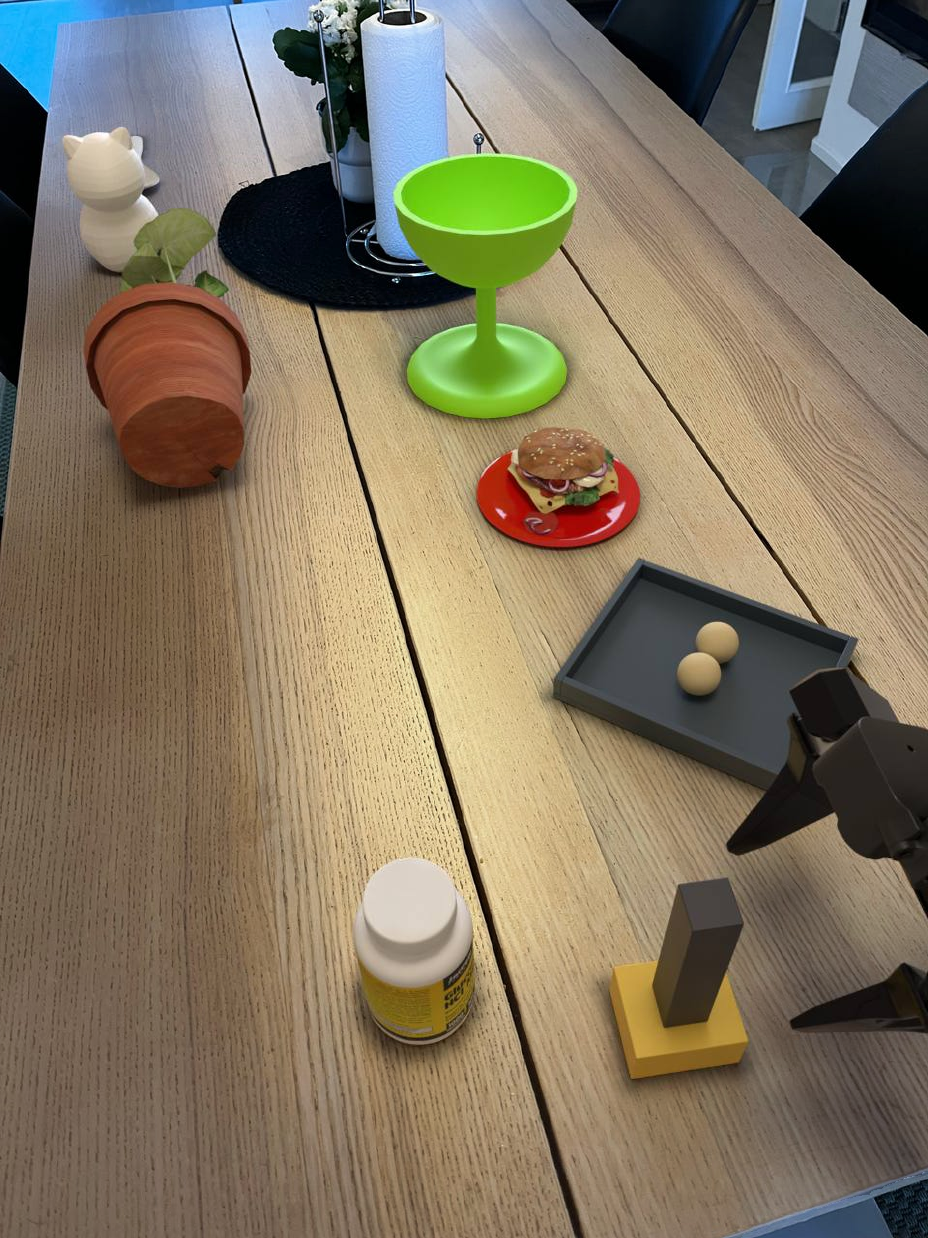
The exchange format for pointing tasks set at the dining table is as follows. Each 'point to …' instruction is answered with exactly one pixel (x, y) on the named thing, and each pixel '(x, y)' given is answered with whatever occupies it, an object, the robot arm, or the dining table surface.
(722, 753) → the tray
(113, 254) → the cat figurine
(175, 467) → the potted plant
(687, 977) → the grey and yellow block
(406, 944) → the pill bottle
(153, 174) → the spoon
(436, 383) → the wineglass
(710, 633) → the crumb
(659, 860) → the dining table surface
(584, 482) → the hamburger
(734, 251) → the dining table surface
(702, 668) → the crumb
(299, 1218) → the dining table surface
